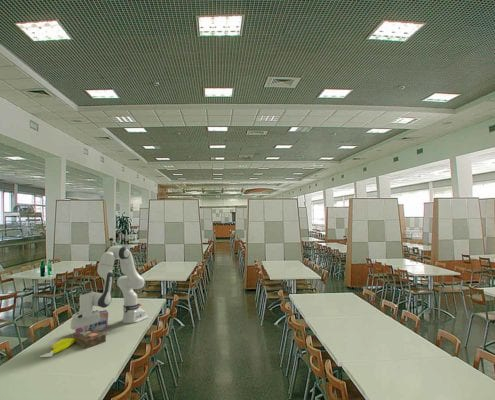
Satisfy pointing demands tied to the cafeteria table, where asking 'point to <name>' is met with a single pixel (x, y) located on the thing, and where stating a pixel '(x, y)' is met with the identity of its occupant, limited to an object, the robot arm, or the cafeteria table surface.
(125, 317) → the robot arm
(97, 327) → the gum box
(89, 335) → the brick key
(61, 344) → the spray bottle
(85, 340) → the key panel
